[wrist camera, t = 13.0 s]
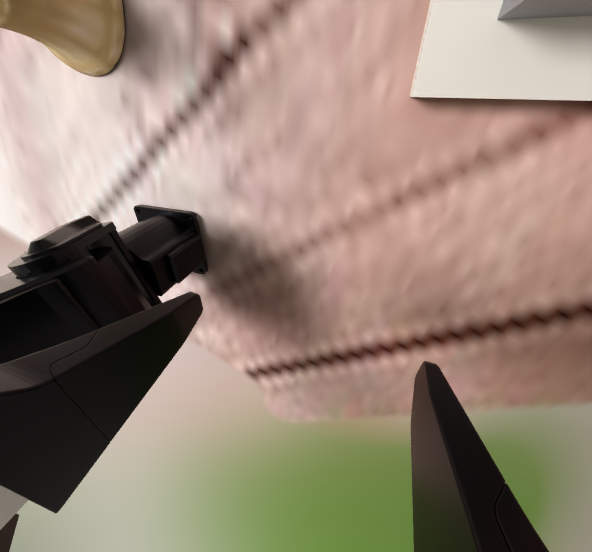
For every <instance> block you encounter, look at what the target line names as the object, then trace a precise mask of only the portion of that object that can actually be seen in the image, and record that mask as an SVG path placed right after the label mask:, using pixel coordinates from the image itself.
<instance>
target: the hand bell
mask: <svg viewBox="0 0 592 552" xmlns="http://www.w3.org/2000/svg"><path fill="white" fill-rule="evenodd" d="M0 28H4V29H8V30H11V31H14V32H18V33H20V34H23V35H26V36H28V37H31V38H33V39H35V40H37V41H39V42H41V43H43V44H44V45H45V46H46V47H47V48H48V49H49V50H50V51H51V52H52V53H53V54H54V55H55V56H56V57H57V58H58V59H60V60H61V61H62V62H64V63H65V64H66V65H68V66H69V67H71V68H73V69H75V70H77V71H78V72H80V73H83V74H86V75H91V76H99V75H104V74H106V73H108V72H109V71H110V70H112V69H113V67H114V66H115V64H116V63H117V61H118V60H119V58H120V55H121V52H122V47H123V43H124V36H125V28H124V14H123V5H122V0H0Z"/></svg>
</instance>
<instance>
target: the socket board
mask: <svg viewBox="0 0 592 552" xmlns="http://www.w3.org/2000/svg"><path fill="white" fill-rule="evenodd" d="M409 97H437V98H485V99H532V100H580V101H592V0H430V5H429V9H428V14H427V18H426V23H425V28H424V32H423V37H422V41H421V46H420V50H419V55H418V59H417V64H416V69H415V73H414V78H413V82H412V87H411V91H410V96H409Z"/></svg>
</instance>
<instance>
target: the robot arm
mask: <svg viewBox="0 0 592 552" xmlns="http://www.w3.org/2000/svg"><path fill="white" fill-rule="evenodd" d="M134 211H135V214H136V217H137V220H138V223H136V224H134V225H132V226H130V227H129V228H127V229H125V230H123V231H121V232H119V233H118V232H117V231H116V227H115V225H114V224H113V222H106V223H100V222H99V221H97V220H95V219H94V218H92V217H91V216H84V217H81V218H79V219H76V220H74V221H71V222H69V223H67V224H64V225H62V226H60V227H57V228H55V229H54V230H52V231H50V232H48V233H46V234H44V235H43V236H41V237H39V238H37V239H35V240H34V241H32V242H31V243H30V246H29V249H28V251H27V252H25V253H24V254H23V255H21V256H20V257H19V258H17V259H16V260H14V261H13V262H12V263H10V264H9V265H8V268H9V269H10V270H11V271H12V272H11V273H9V274H6V275H4V276H2V277H0V552H9V549H10V546H11V543H12V539H13V535H14V532H15V528H16V524H17V521H18V517H19V515H18V514H17V512H18V511H19V509H20V508H21V507H22V506H23V505H24V504H25V503H26V502H27V501H28V500H30V501H32V502H34V503H36V504H38V505H40V506H42V507H44V508H46V509H48V510H50V511H52V512H54V513H57V512H58V511H59V510H60V509H61V508H62V506H63V505H64V504H65V502H66V501H67V500H68V498H69V497H70V496H71V494H72V493H73V492H74V490H75V489H76V488H77V486H78V485H79V484H80V482H81V481H82V480H83V478H84V477H85V476H86V474H87V473H88V472H89V470H90V469H91V467H92V466H93V465H94V463H95V462H96V461H97V459H98V458H99V457H100V455H101V454H102V453H103V451H104V450H105V449H106V447H107V446H108V445H109V443H110V441H111V440H112V439H113V437H114V436H115V435H116V434H117V432H118V431H119V430H120V428H121V427H122V426H123V424H124V423H125V422H126V420H127V419H128V418H129V416H130V415H131V413H132V412H133V411H134V410H135V408H136V407H137V405H138V404H139V403H140V401H141V400H142V399H143V397H144V396H145V395H146V393H147V392H148V391H149V389H150V388H151V387H152V385H153V384H154V383H155V381H156V380H157V378H158V377H159V376H160V375H161V373H162V372H163V370H164V369H165V368H166V367H167V365H168V364H169V362H170V361H171V360H172V358H173V357H174V356H175V354H176V353H177V352H178V350H179V349H180V348H181V346H182V345H183V343H184V342H185V340H186V339H187V337H188V336H189V334H190V332H191V331H192V329H193V327H194V325H195V324H196V322H197V320H198V319H199V317H200V315H201V314H202V311H203V306H202V302H201V298H200V295H199V294H196V293H193V292H188V293H186V294H183V295H181V296H178V297H176V298H174V299H171V300H169V301H166V302H164V303H162V302H161V300H160V299H159V297H158V296H162V295H163V294H165V293H166V292H167V291H168V290H169V289H170V288H171V287H172V286H174V285H175V284H176V283H180V282H181V281H183V280H184V279H185V278H186V277H187V276H188V275H189V274H190V273H192V272H194V273H199V274H205V273H206V272H207V271H208V267H207V263H206V258H205V253H204V249H203V244H202V239H201V235H200V230H199V226H198V221H197V217H196V215H195V214H194V213H193V212H189V211H181V210H174V209H167V208H160V207H153V206H146V205H137V206H135V207H134ZM190 217H191V218H192V219H190ZM411 457H412V494H413V495H412V496H413V529H414V530H413V531H414V552H549V551H548V549H547V548H546V547H545V545H544V543H543V542H542V540H541V539H540V537H539V536H538V534H537V532H536V531H535V529H534V528H533V526H532V525H531V523H530V521H529V520H528V518H527V516H526V515H525V513H524V512H523V510H522V508H521V507H520V505H519V503H518V502H517V500H516V498H515V497H514V495H513V493H512V492H511V490H510V488H509V486H508V485H507V484H506V483H505V480H504V478H503V476H502V474H501V473H500V471H499V469H498V468H497V466H496V464H495V462H494V461H493V459H492V457H491V456H490V454H489V452H488V451H487V449H486V447H485V445H484V444H483V442H482V440H481V439H480V437H479V435H478V433H477V432H476V430H475V428H474V427H473V425H472V423H471V421H470V420H469V418H468V416H467V414H466V413H465V411H464V409H463V408H462V406H461V404H460V402H459V401H458V399H457V397H456V396H455V394H454V392H453V390H452V389H451V387H450V385H449V384H448V382H447V380H446V378H445V377H444V375H443V373H442V372H441V370H440V368H439V366H438V365H436V364H434V363H431V362H427V361H424V362H423V363H422V365H421V367H420V369H419V370H418V372H417V374H416V377H415V383H414V394H413V404H412V415H411Z"/></svg>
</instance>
